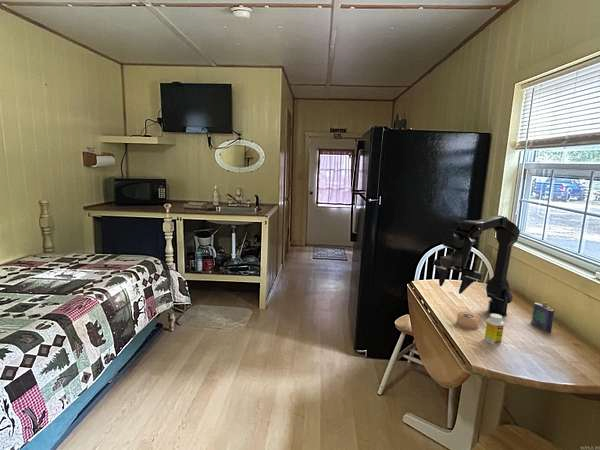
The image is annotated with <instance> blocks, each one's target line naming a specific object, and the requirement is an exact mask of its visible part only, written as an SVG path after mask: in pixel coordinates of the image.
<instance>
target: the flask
mask: <svg viewBox="0 0 600 450" xmlns="http://www.w3.org/2000/svg"><path fill="white" fill-rule="evenodd" d="M554 315H555V310H554V309H552V308H551V307H549V305H548V302H546V301H542V302H541V303H539V302H534V303H533V308H532V315H531V321H530V322H531V323H530V324H532V325H534V326H535V327H537V328H540V330H542V331H544V332H545V333H546V332H547V333H552V330H553V329H552V328H553V323H554V321H553V320H554Z"/></svg>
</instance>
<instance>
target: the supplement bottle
mask: <svg viewBox="0 0 600 450" xmlns="http://www.w3.org/2000/svg"><path fill="white" fill-rule="evenodd" d="M504 328H505V322H504V321H503V316H502V315H498V314H491V313H490V314H489V317H488V318H487V319H486V324H485V333H484V340H485V342H486V343H488V344H491V345H496V346H498V345H501V344H502V340H503V333H504Z"/></svg>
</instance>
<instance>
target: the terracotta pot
mask: <svg viewBox="0 0 600 450" xmlns="http://www.w3.org/2000/svg"><path fill="white" fill-rule="evenodd" d="M456 315H457V317H456V325H457V327H459V328H461V329H466V330H468V331H469V330H470V331H474V330H478V329H479V323H480V316H479V315H477V314H476V313H472V312H469V311H467V312H466V311H459V312H458V313H457V314H456Z"/></svg>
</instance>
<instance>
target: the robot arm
mask: <svg viewBox="0 0 600 450" xmlns="http://www.w3.org/2000/svg"><path fill="white" fill-rule="evenodd" d="M491 229H493V231H495V239H496V241H497V243H498V247H497V251H496V252H497V254H496V259H495V264H494V271H493V276H492V277H491V278H490V279H487V281H486V287H485V289H486V297H487V298H490V300H488V304H487V305H488V306H487V310H488V312H489V313H490V314H498V315H501V316H502V317H508V314H507V311H508V310H507V309H508V304H511V303H512V302H513V300H514V298H513V297H514V296H513V294H512V293H511V292H510V284H509V282H508V279H507V276H508V272H509V271H508V270H509V265H510V259H511V253H512V248H513V246H514V245H515V244H516V242H517V241H518V239H519V236H520V233H521V231H520V228H519V227H518V226H517V225H516V224H515V223H514V222H512V221H511V220H510V219H508V217H507V216H505V215H501V214H500V215H499V214H494V215H492V216H489V217H485V218H482V219H477V220H464V219H463V220H461V222H459V224H458V225H457V226H456V227H455V228H454V229H451V228H449V229H448V232H445V233H444V234H443V235H442V237H441V244H442V246H444V247H446V248H449V249H451V250H453V251H450V252H449V253H450V254H448V255H444V256H440V259H438V258H436V259H434V260H433V263H432V265H433V266H434V268H436V270H437V273H438V284H439V287H443V285H444V284H445V280H446V279H447V276H448V275H449V272H450V270H452V271H454V272H458V273H461V274H463V275H461V283H460V286H459V290H458V294H459V295H461V294H462V293H463V292H464V291H465V290H466V289H467V288H469V286H471V285H472V284H473V283H474V282H477V281H478V280H479V281H481V280H482V277H483V275H482V272H479V271H476V270H475V269H470V268H468V266H467V263H468V260H469V261H471V256H470V254H471V251H472V248H473V245H477V240H476V239H475V238H477V237H479V236H480V235H482V233H483V232H484V231H487V230H491Z"/></svg>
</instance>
